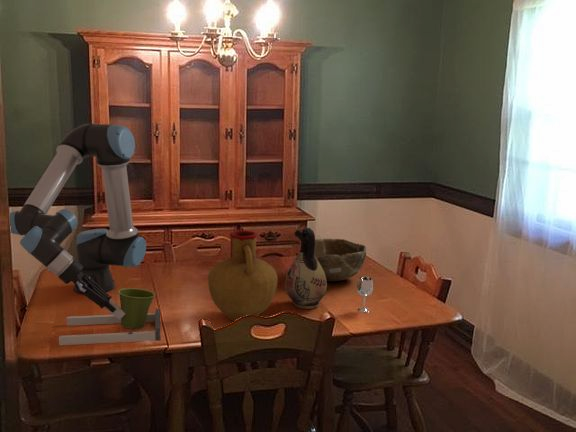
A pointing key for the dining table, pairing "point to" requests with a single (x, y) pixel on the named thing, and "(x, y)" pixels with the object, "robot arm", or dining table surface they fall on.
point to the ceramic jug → (306, 274)
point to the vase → (242, 279)
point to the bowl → (339, 258)
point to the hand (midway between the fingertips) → (122, 316)
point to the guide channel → (109, 337)
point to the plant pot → (135, 306)
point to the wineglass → (364, 290)
